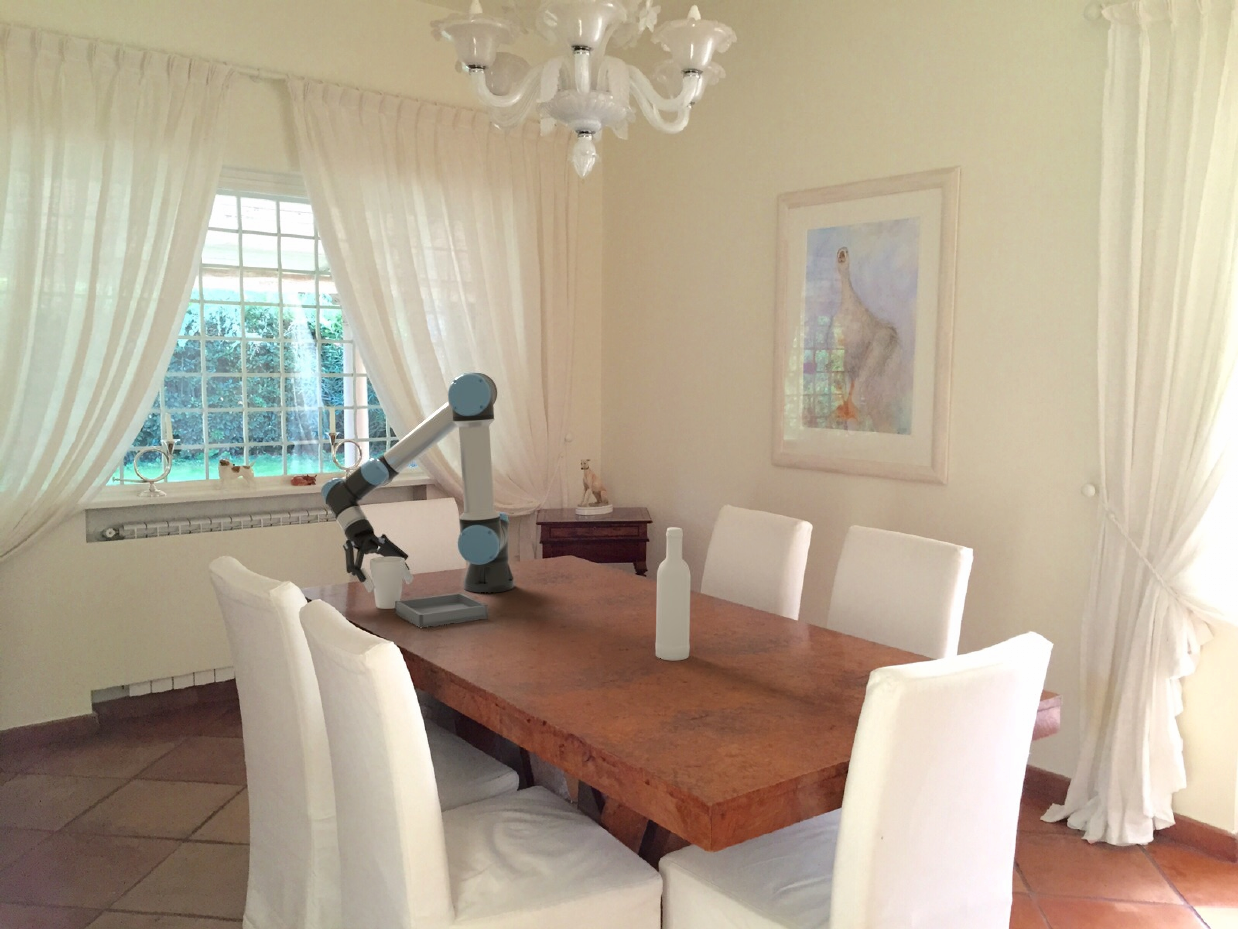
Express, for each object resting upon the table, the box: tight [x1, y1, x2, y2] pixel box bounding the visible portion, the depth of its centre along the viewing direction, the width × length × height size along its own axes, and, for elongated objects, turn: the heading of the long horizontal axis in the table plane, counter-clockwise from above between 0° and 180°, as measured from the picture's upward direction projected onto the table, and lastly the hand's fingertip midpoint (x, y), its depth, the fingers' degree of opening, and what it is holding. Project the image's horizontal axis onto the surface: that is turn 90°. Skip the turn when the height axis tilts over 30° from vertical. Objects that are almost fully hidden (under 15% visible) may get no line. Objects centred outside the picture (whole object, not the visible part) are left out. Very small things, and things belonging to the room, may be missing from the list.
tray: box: [394, 592, 489, 628], centre depth 255 cm, size 19×17×4 cm
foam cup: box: [369, 556, 406, 610], centre depth 265 cm, size 10×9×13 cm
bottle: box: [654, 526, 692, 662], centre depth 221 cm, size 8×8×30 cm
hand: (391, 585), depth 264 cm, fingers open, 13 cm apart
